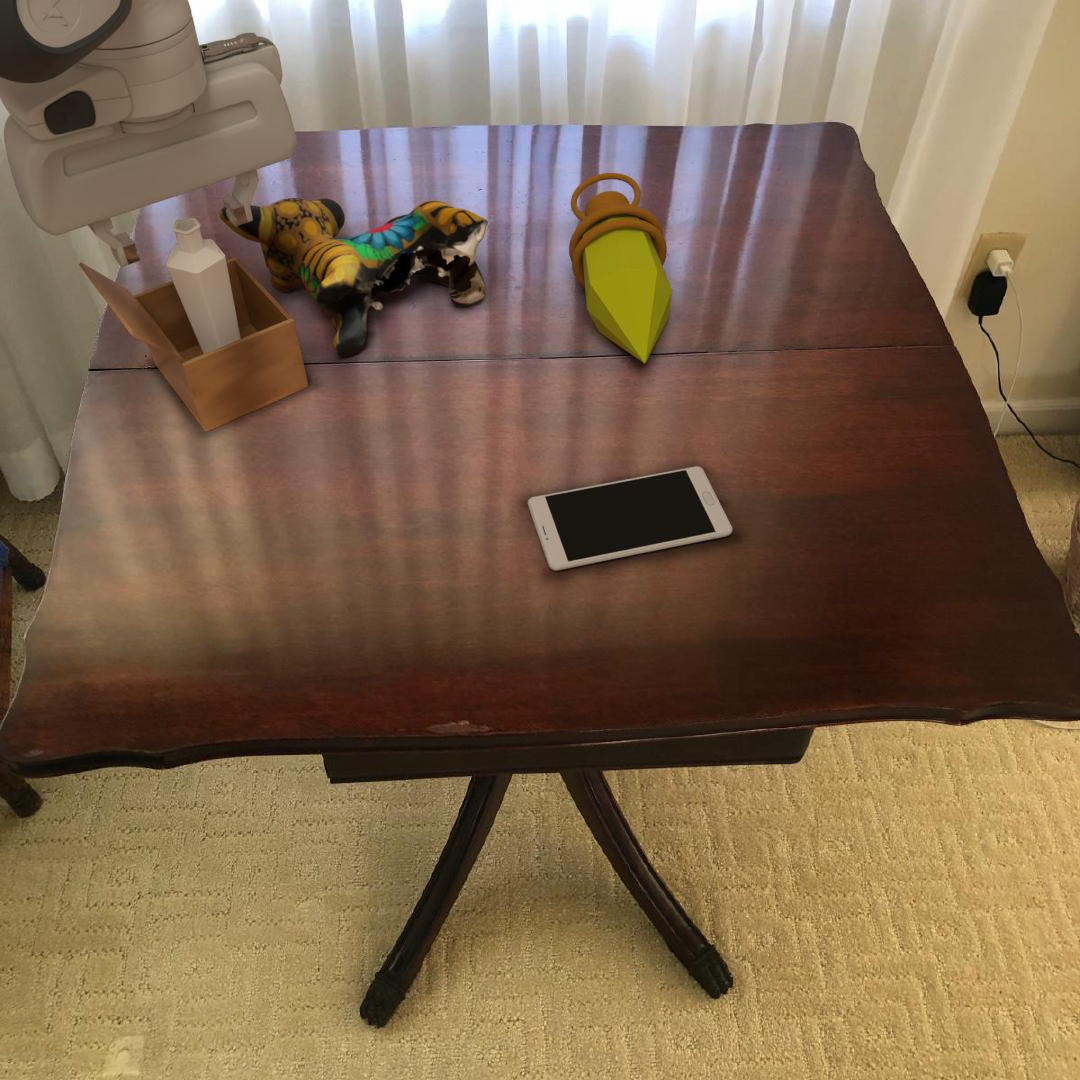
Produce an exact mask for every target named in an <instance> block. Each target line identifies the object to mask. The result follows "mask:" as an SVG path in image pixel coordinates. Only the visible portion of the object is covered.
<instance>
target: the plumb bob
mask: <svg viewBox="0 0 1080 1080" xmlns="http://www.w3.org/2000/svg"><path fill="white" fill-rule="evenodd" d="M607 180H608V181H609V180H614V181H615V180H616V181H621V182H624V183H626V184H628V185H629V186H630V187H631V188H632V190H633V194H634V196H633V200H632V202H631V203H630V201H629V199H628V198H627V196H626V195H625V194H623V193H622V192H620V191H615V190H607V191H601V192H600V193H597V194H596V195H594V196H592V198H590V199H589V201H588V202H587V204H586V206H585V209H584V213H583V212H581V210H580V209H579V206H578V199H579V197H580V195H581V194H582V193H583V191H584V190H586V188H587V187H589V186H591V185H594V184H596V183H599V182H601V181H607ZM641 198H642V191H641V189H640V186H639V184H638V182H637V181H636V180H635V179H633V178H632V177H631V176H629V175H627V174H623V173H618V172H604V173H600V174H599V173H598V174H596V175H594V176H591V177H589V178H586V180H584V181H582V183H580V184H579V185H578V186H577V187H576V188H575V190H574V191H573V192H572V194H571V198H570V208H571V211H572V213H573V215H575V217H576V218H577V219H578V220H579V221H580V222H579V224H578V225H577V226H576V228H575V229H574V230H573V232H572V235H571V237H570V240H569V245H568V254H569V255H568V256H569V258H570V261H571V269H572V273H573V275H574V277H575V278H576V280H577V281H578V282H579V284H580V285H581V286H582V287H584V291H585V302H586V303H585V304H586V310H587V312H588V314H589V315H590V317H591V320H592V322H593V324H594V325H595V327H596V329H597V331H598V333H599V334H601V335H602V336H604V337H605V338H607V339H608V340H610V341H611V342H613V343H614V344H615V345H617V346H618V347H620V348H621V349H623V350H624V351H626V352H627V353H629V354H630V355H632V356H633V357H635V358H636V359H638V361H640V362H642V364H646V363H647V361H648V359H649V357H650V355H651V353H652V351H653V349H654V347H655V345H656V343H657V341H658V339H659V337H660V335H661V334H662V331H663V329H664V327H665V326H666V323H667V322H668V319H669V316H670V310H671V302H672V294H673V288H672V286H671V283H670V281H669V278H668V276H667V273H666V271H665V268H664V264H665V262H666V259H667V254H668V247H667V241H666V238H665V237H664V232H663V227H662V225H661V223H660V221H659V220H658V218H657V217H656V216H655V215H654V214H653V213H651V212H650V211H649V210H647V209H645V208H643V207H641V206H639V204H640V202H641Z"/></svg>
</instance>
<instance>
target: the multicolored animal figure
mask: <svg viewBox="0 0 1080 1080" xmlns="http://www.w3.org/2000/svg"><path fill="white" fill-rule="evenodd" d="M250 208H251V212H252V217H253V221H251V222H248V223H245V224H242V225H239V226H236V227H235V226H234V224H233V222H230V220H229V219H228V217H227V214H226V209H227V208H226V207H225V206H224V207H222V208H220V210H219V212H218V215H219V218H220V220H221V221H222V222H223V223H224V224H225V225H226V226H227V227H228V228H229V229H230V230H231V231H233V232H234V233H236V234H237V235H239V237H242V238H244V239H245V240H248V241H252V242H255V243H258V244H260V247H261V251H262V255H263V258H264V263H265V265H266V268H267V269H268V270H269V272H270V284H271V287H272V288H273V289H275V290H278V291H281V292H290V291H292V290H294V289H295V288H297V287H301V285H304V289H305V290H306V292H307V294H308V295H309V297H310V298H311V299H312V300H313V301H314V302H316V303H318V305H320V307H321V308H322V310H324V312H325V313H326V315H327V316H328V317H329V319H330V321H331V323H332V325H333V326H334V328H335V330H336V333H335V335H334V337H333V349H334V351H335V353H336V355H337V356H339V357H348V356H352V355H354V354H357V353H358V352H360V351H361V350H362V349H363V348H364V346H366V345H365V344H366V342H367V337H368V313H369V309H371V308H373V309H374V310H375V311H382V309H383V308H384V305H383V304H382V302H381V301H374V299H378V298H382V297H384V296H387V295H390V294H391V293H393V292H402V291H403V290H404V289H405V287H406V285H408V286H409V285H410V284H411V280H412V279H413V277H415V276H423V277H425V278H426V279H427V280H429V281H430V282H434V283H436V284H441V285H443V286H445V287H448V289H449V290H448V291H449V294H448V295H449V297H450V301H451V303H452V304H453V305H456V306H460V307H467V306H470V305H473V304H474V305H475V304H476V303H478V302H479V301H481V300H483V299H484V298H485V297H486V293H487V292H486V291H487V286H486V282H485V279H484V277H483V276H484V275H483V274H482V272H481V270H480V268H479V266H478V264H477V263H476V261H475V258H476V257H475V256H476V253H477V249H478V246H479V245H480V243H481V242H482V241H483V239H484V237H485V235H486V230H487V227H488V219H486V218H484V217H482V216H480V215H478V214H476V213H475V212H473V211H471V210H467V209H465V208H459V207H454V206H453V205H450V204H448V203H446V202H444V201H441V200H435V199H434V200H433V199H432V200H427V201H424V202H421V203H419V204H418V205H416V206H415V207H414V209H412V210H411V211H410V212H409V213H406V214H403V215H398V216H395V217H393V218H391V219H390V220H388V221H387V222H386V223H384V224H383V225H380V226H378V227H376V228H373V229H370V230H367V231H366V232H363V233H360V234H357V235H354V236H349V237H346V238H336V237H337V236H338V235H339V233H340V232H341V231H342V229H343V227H344V225H345V221H346V215H345V212H344V210H343V208H342V206H341V205H340V204H339V203H338V202H336V201H335V200H333V199H331V198H325V197H324V198H319V199H316V200H312V201H310V200H308V199H305V198H300V197H289V198H288V197H287V198H282V199H279V200H276V201H274V202H273V203H271V204H269V205H266V206H258V205H251V204H250Z"/></svg>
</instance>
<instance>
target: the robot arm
mask: <svg viewBox="0 0 1080 1080" xmlns="http://www.w3.org/2000/svg"><path fill="white" fill-rule="evenodd" d="M279 52H280V51H279V49H278V48H277V46H276V45H275V44H274V42H273V41H271V40H270V39H269V38H267V37H264V36H258V35H257V34H256V33H255V32H243V33H240V34H238V35H236V36H235V37H232V38H228V39H220V40H215V41H210V42H207V43H203V44H200V42H199V37H198V34H197V30H196V25H195V20H194V17H193V13H192V8H191V5H190V2H189V0H0V101H1V102H2V104H3V106H4V108H5V109H6V111H7V112H8V114H9V115H8V117H7V119H6V120H5V123H4V126H3V143H4V148H5V153H6V158H7V162H8V165H9V169H10V172H11V177H12V180H13V182H14V185H15V189H16V191H17V194H18V197H19V199H20V201H21V204H22V207H23V208H24V210H25V212H26V214H27V215H28V217H29V218H30V219H31V221H32V222H33V223H34V224H35V226H36V227H37V228H39V229H40V230H42V231H44V232H45V233H48V234H49V235H52V236H61V235H63V234H66V233H69V232H72V231H75V230H78V229H81V228H84V227H88V228H89V229H90V231H92V233H93V234H94V235H95V236H96V237H97V238H99V240H101V241H103V242H104V243H105V244H107V246H109V247H110V251H111V253H112V256H113V257H114V259H115V261H116V262H117V263H118V265H119V266H120V267H121V268H124V267H126V266H129V265H132V264H135V263H137V262H141V257H140V255H139V254H138V249H137V245H136V242H134V239H132V238H130V235H129V234H128V233H127V232H126V231H124V232H120V233H117V234H115V233H113V231H112V230H113V229H114V226H113V223H112V219H111V218H115V217H118V216H120V215H123V214H127V213H129V212H133V211H135V210H138V209H141V208H145V207H147V206H150V205H151V206H152V205H153V204H156V203H160V202H163V201H166V200H169V199H172V198H175V197H178V196H180V195H181V196H182V195H184V194H187V193H190V192H193V191H196V190H199V189H201V188H202V189H203V188H205V187H208V186H211V185H214V184H217V183H220V182H223V181H226V180H229V179H232V178H235V180H234V185H233V188H232V193H231V195H229V196H226V197H225V198H222V202H223V205H224V207H226V208H227V209H226V214H227V217H228V219H229V220H230V222H233V224H234V226H235V227H236V226H239V225H242V224H245V223H248V222H251V221H253V217H252V212H251V208H250V205H251V204H252V200H253V198H254V195H255V192H256V189H257V186H258V184H259V181H260V180H259V173H258V170H260V169H263V168H265V167H268V166H271V165H274V164H277V163H280V162H284V161H286V160H289V159H290V158H291V157H292V155H293V153H294V151H295V148H296V147H297V143H298V140H297V135H296V130H295V126H294V123H293V118H292V115H291V112H290V109H289V105H288V103H287V99H286V97H285V94H284V92H283V89H282V87H281V84H282V81H283V68H282V62H281V57H280V53H279Z"/></svg>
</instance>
